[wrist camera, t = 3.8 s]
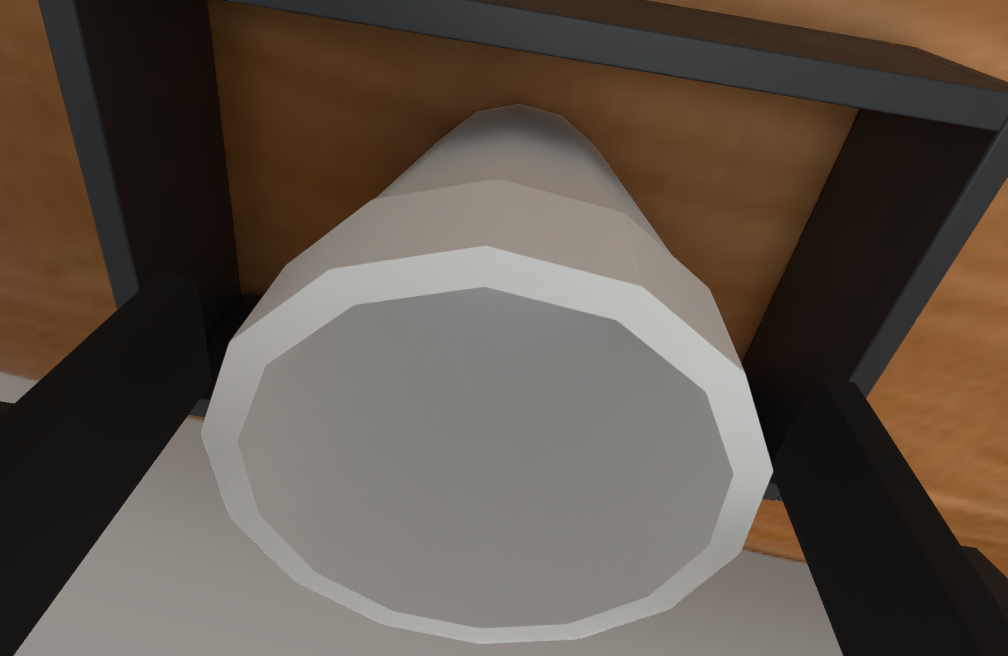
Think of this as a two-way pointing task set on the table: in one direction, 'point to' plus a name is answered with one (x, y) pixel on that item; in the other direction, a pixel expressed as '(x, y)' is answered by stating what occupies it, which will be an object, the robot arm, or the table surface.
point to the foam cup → (491, 401)
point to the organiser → (590, 38)
